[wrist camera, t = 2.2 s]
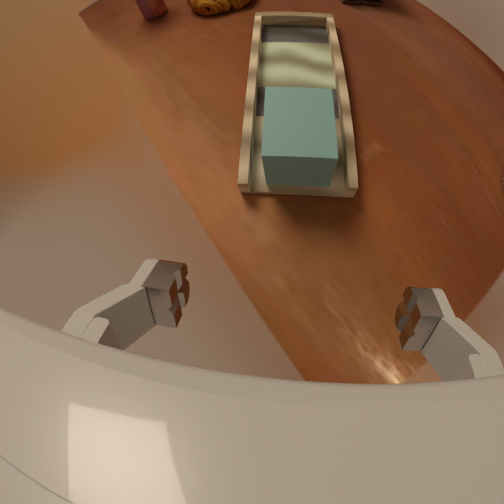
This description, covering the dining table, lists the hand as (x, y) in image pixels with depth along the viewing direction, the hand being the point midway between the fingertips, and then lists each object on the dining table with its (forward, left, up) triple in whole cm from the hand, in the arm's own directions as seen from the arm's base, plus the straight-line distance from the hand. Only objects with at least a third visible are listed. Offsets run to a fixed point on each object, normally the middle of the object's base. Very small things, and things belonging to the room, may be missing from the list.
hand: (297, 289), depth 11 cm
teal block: (+14, -14, -24) cm, 31 cm away
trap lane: (+23, -23, -25) cm, 41 cm away
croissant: (+55, -34, -25) cm, 70 cm away
